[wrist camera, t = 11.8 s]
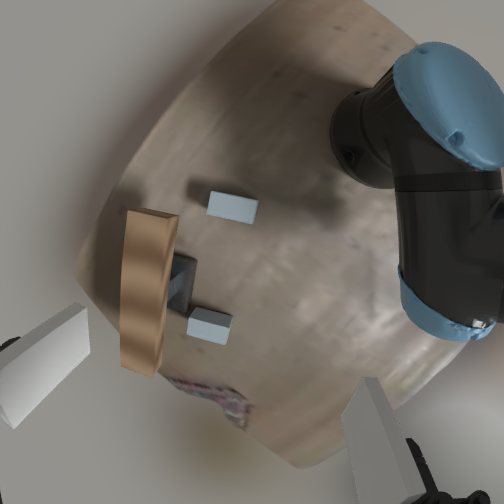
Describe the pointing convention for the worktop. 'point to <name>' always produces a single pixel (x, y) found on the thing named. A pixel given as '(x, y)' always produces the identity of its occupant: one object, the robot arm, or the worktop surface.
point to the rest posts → (209, 321)
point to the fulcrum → (181, 283)
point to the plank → (145, 288)
